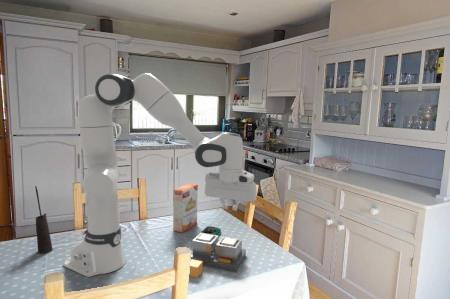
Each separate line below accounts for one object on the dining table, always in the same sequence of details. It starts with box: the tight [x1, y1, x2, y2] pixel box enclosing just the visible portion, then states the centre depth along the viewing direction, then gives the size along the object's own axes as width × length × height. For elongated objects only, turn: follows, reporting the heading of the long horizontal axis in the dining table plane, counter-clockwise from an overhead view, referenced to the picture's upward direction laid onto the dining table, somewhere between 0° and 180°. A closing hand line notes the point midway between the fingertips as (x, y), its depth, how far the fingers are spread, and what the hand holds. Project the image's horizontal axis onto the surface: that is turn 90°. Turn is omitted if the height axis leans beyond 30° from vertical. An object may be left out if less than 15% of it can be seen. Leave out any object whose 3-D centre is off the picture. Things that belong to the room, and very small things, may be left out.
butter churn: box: [34, 185, 54, 254], centre depth 128 cm, size 9×10×28 cm
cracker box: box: [172, 183, 199, 233], centre depth 154 cm, size 14×6×21 cm, turn 155°
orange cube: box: [189, 259, 204, 278], centre depth 114 cm, size 4×4×4 cm
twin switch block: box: [190, 232, 247, 273], centre depth 124 cm, size 20×14×8 cm
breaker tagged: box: [221, 236, 238, 247], centre depth 122 cm, size 5×5×3 cm
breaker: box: [198, 234, 214, 243], centre depth 126 cm, size 5×5×3 cm
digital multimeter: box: [192, 225, 222, 240], centre depth 144 cm, size 8×16×3 cm, turn 158°
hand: (229, 209), depth 120 cm, fingers open, 3 cm apart
